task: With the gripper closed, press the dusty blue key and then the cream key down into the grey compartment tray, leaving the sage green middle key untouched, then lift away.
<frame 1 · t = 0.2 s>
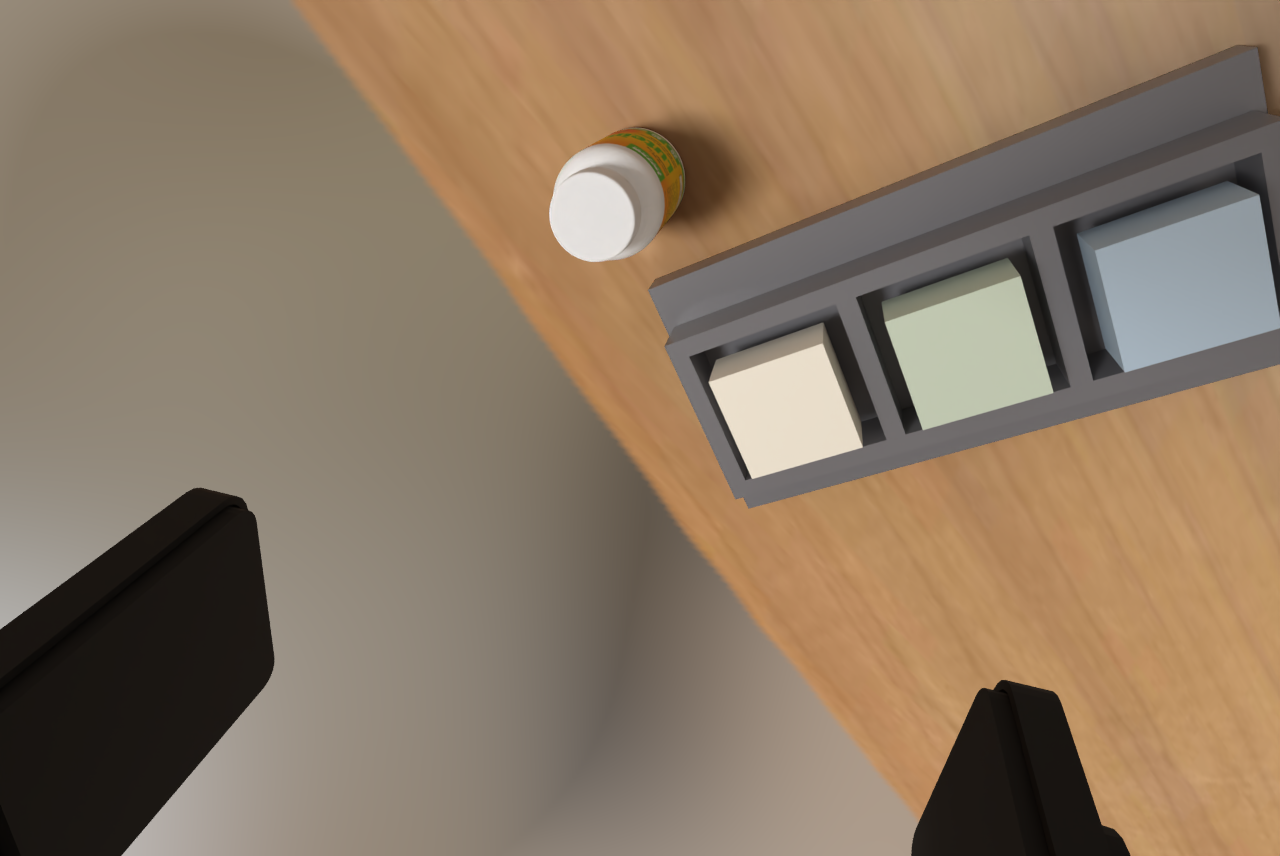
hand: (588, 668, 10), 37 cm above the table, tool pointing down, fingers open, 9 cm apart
supplement bottle: (639, 177, 44), on the table
cream key: (787, 402, 42), point 6 cm above the table, slide at 0.0 cm
grey compartment tray: (950, 308, 43), on the table
sage key: (964, 345, 39), point 6 cm above the table, slide at 0.0 cm
blue key: (1174, 278, 35), point 6 cm above the table, slide at 0.0 cm
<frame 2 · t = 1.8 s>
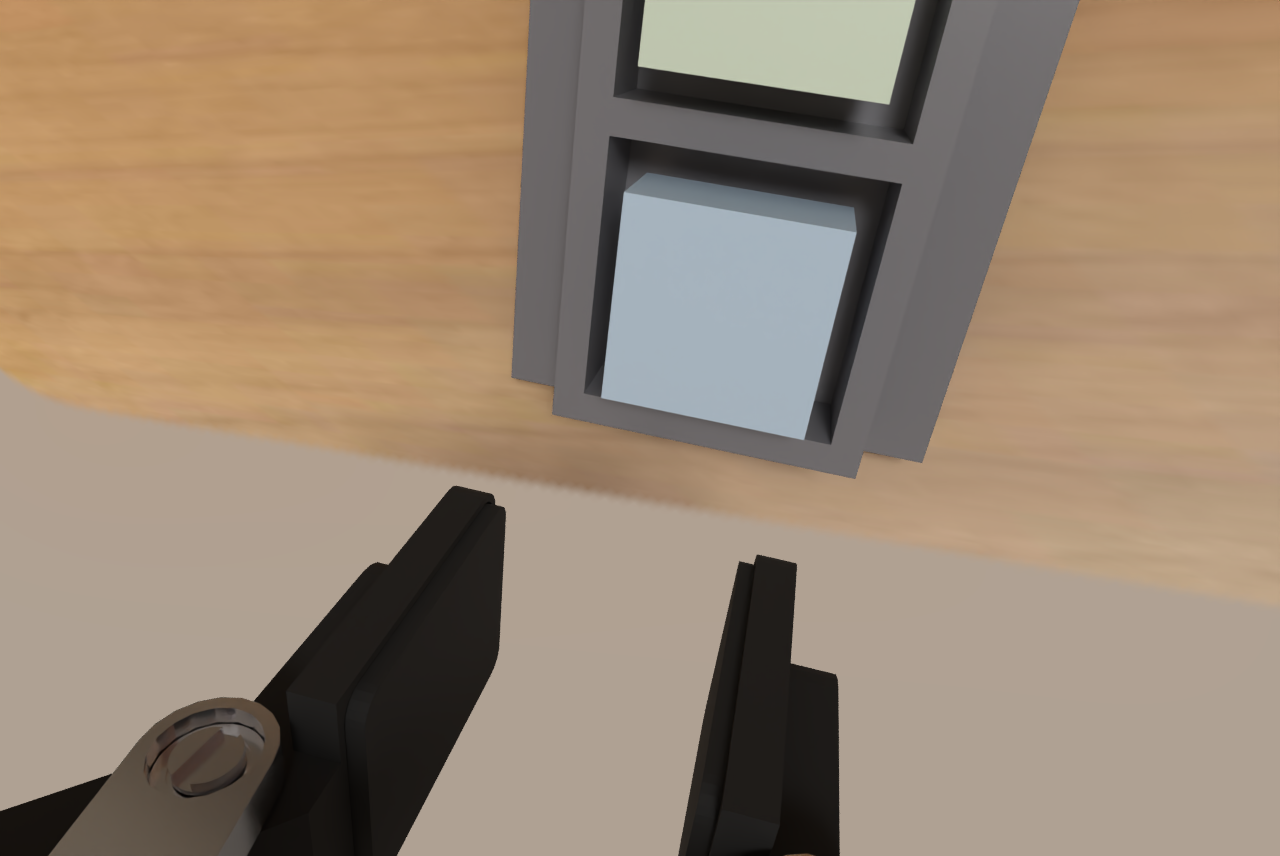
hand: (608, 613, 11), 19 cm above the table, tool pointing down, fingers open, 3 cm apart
blue key: (724, 304, 23), point 5 cm above the table, slide at 0.0 cm
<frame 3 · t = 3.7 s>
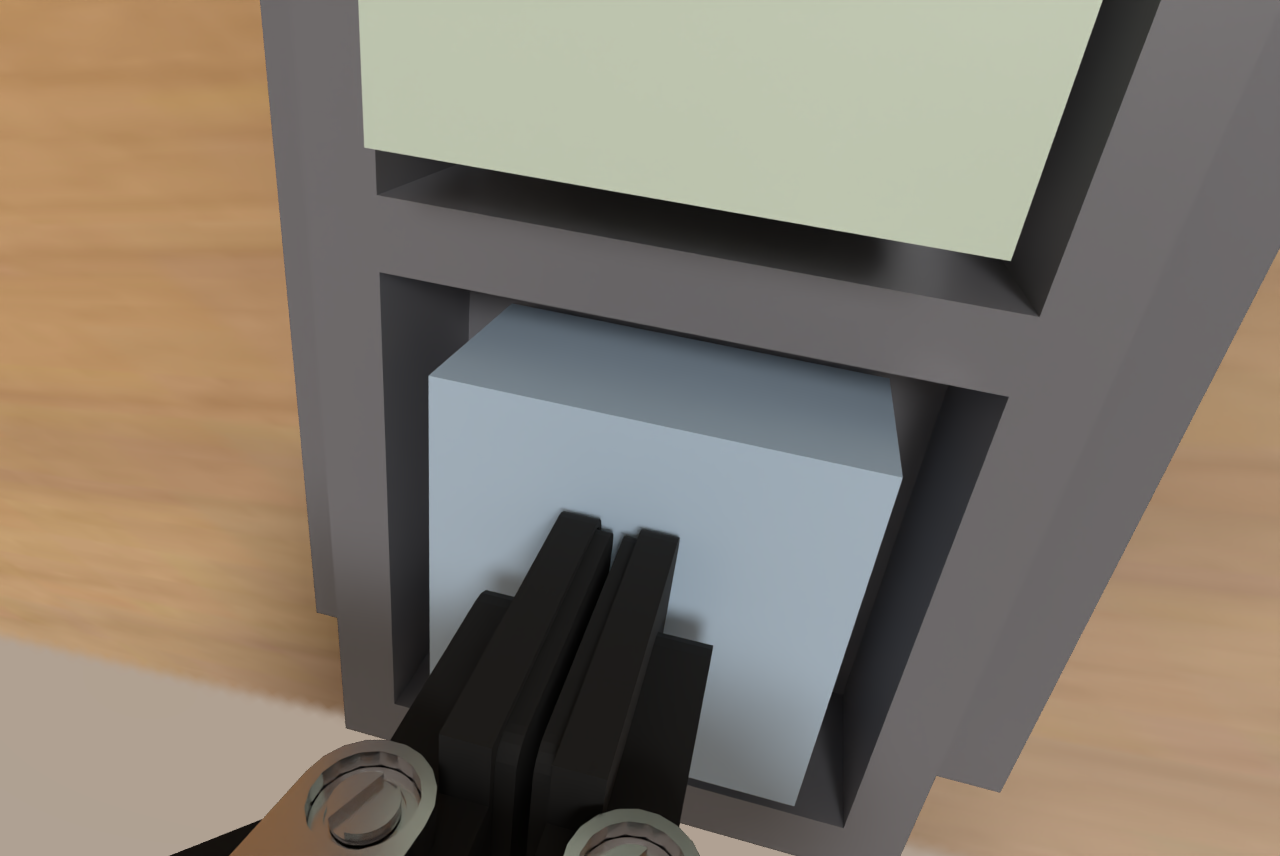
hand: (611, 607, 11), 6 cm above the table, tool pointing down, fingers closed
blue key: (650, 549, 13), point 4 cm above the table, slide at 1.4 cm
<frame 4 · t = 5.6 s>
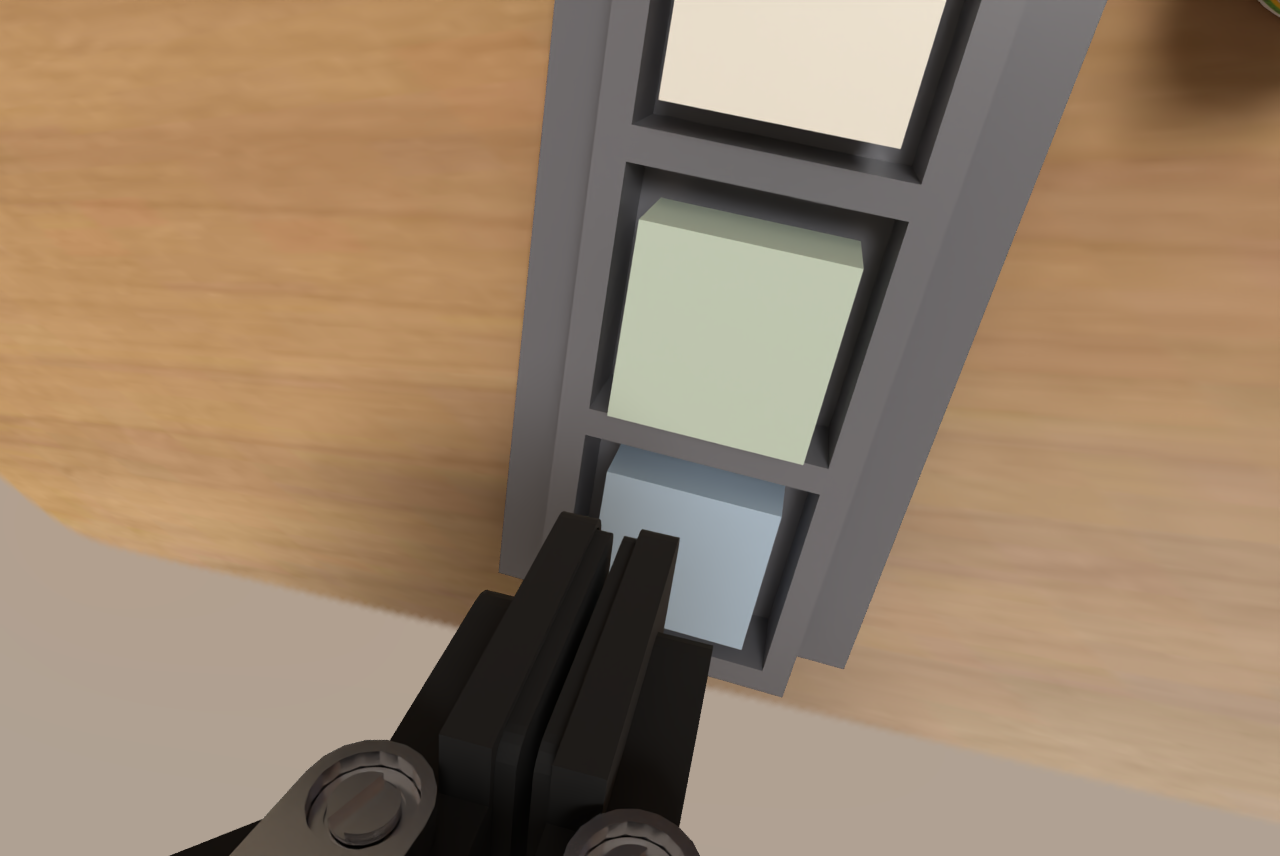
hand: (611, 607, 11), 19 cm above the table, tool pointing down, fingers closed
grey compartment tray: (749, 278, 28), on the table
sage key: (731, 330, 24), point 6 cm above the table, slide at 0.0 cm
blue key: (683, 540, 29), point 4 cm above the table, slide at 1.7 cm
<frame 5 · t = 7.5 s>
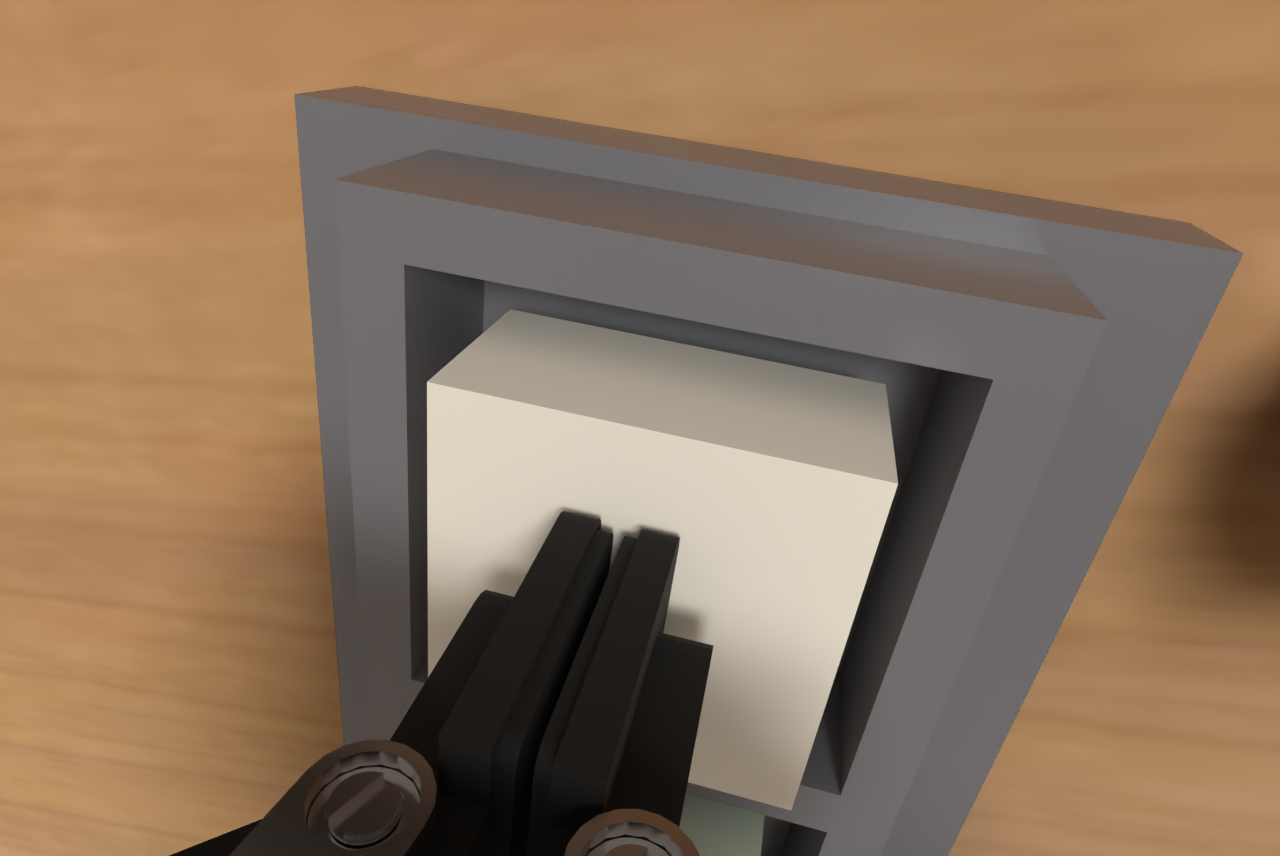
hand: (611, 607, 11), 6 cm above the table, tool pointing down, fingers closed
cream key: (647, 554, 13), point 5 cm above the table, slide at 0.6 cm, touching gripper
grey compartment tray: (642, 719, 21), on the table
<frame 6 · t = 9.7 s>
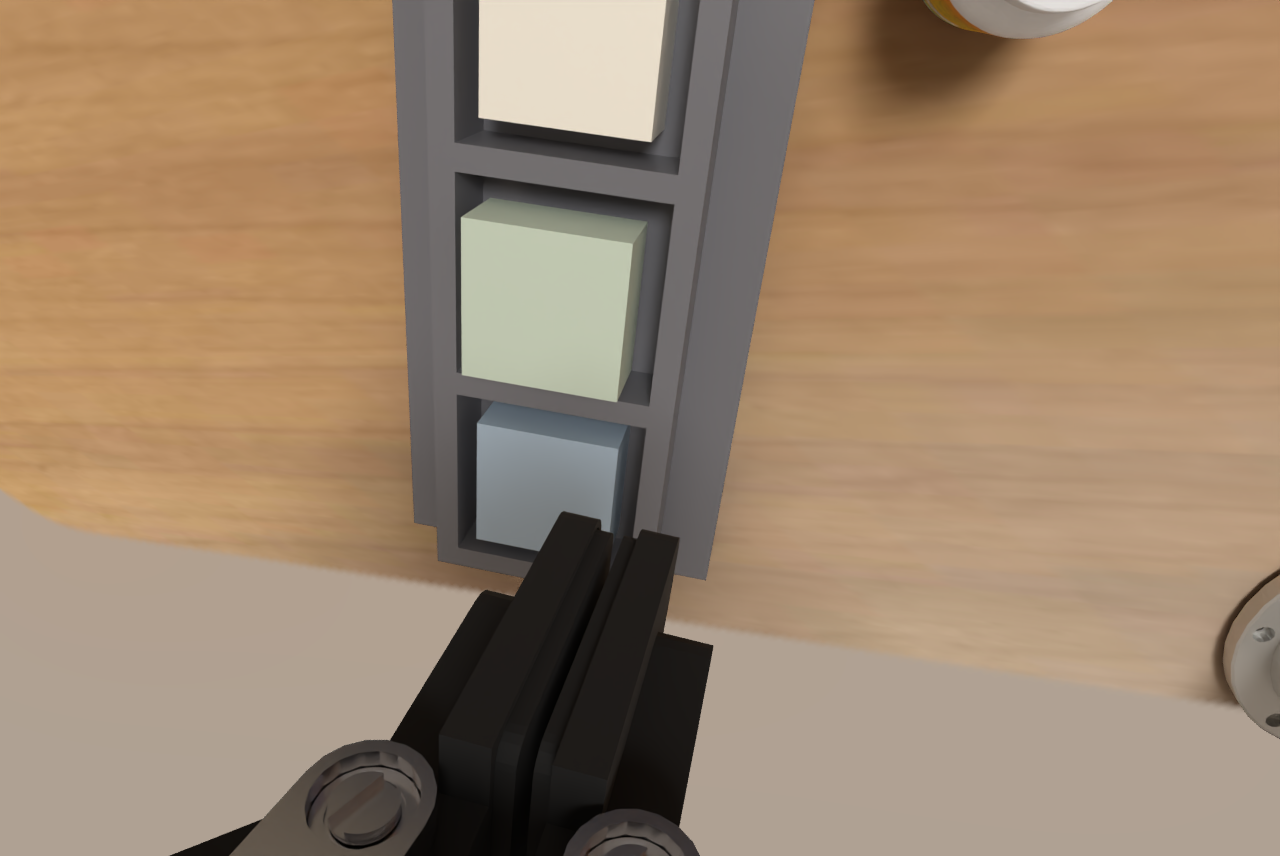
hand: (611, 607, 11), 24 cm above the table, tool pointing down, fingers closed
cream key: (580, 29, 27), point 4 cm above the table, slide at 1.7 cm
grey compartment tray: (587, 257, 35), on the table
sage key: (553, 299, 30), point 5 cm above the table, slide at 0.0 cm
blue key: (553, 477, 36), point 4 cm above the table, slide at 1.7 cm
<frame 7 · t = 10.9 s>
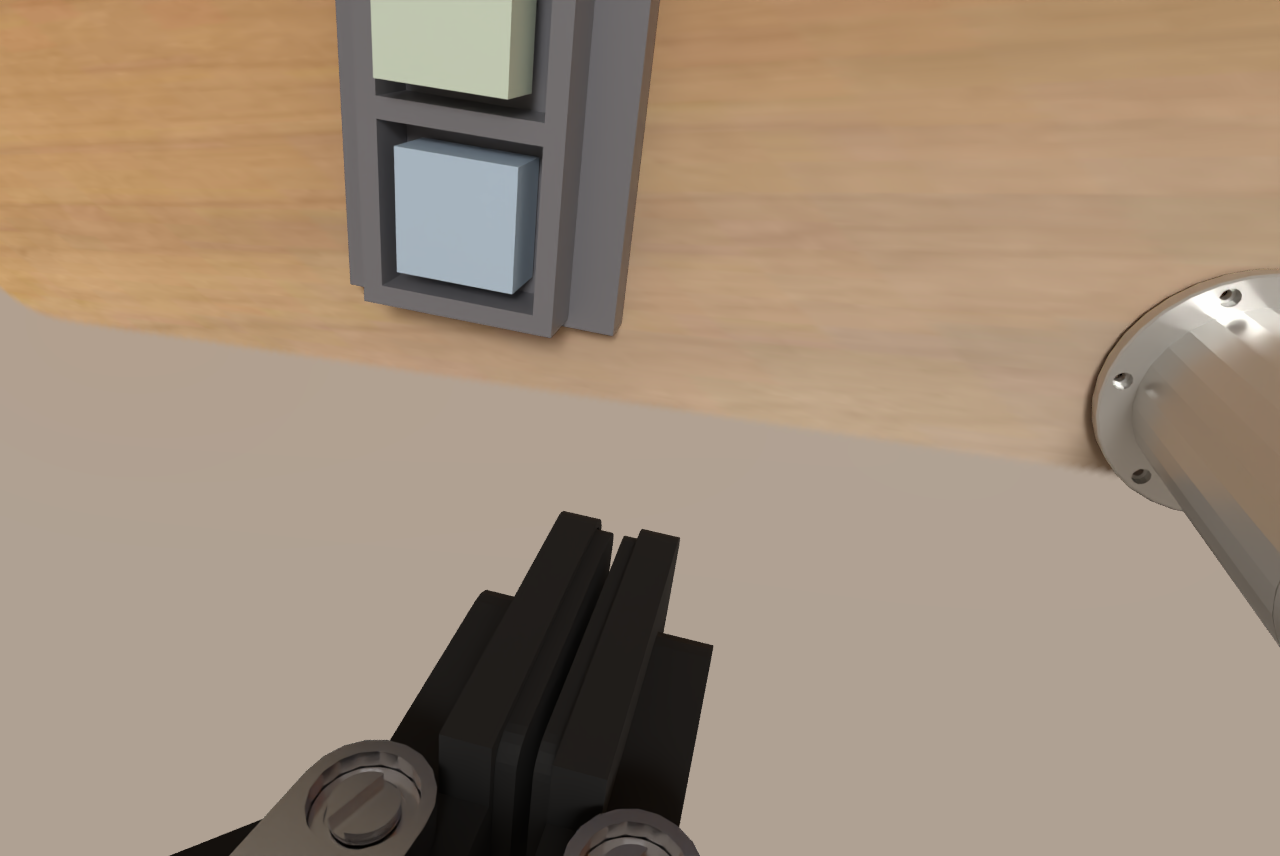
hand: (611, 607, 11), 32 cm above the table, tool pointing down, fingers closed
grey compartment tray: (502, 9, 38), on the table
sage key: (455, 8, 33), point 5 cm above the table, slide at 0.0 cm
blue key: (467, 215, 39), point 4 cm above the table, slide at 1.7 cm
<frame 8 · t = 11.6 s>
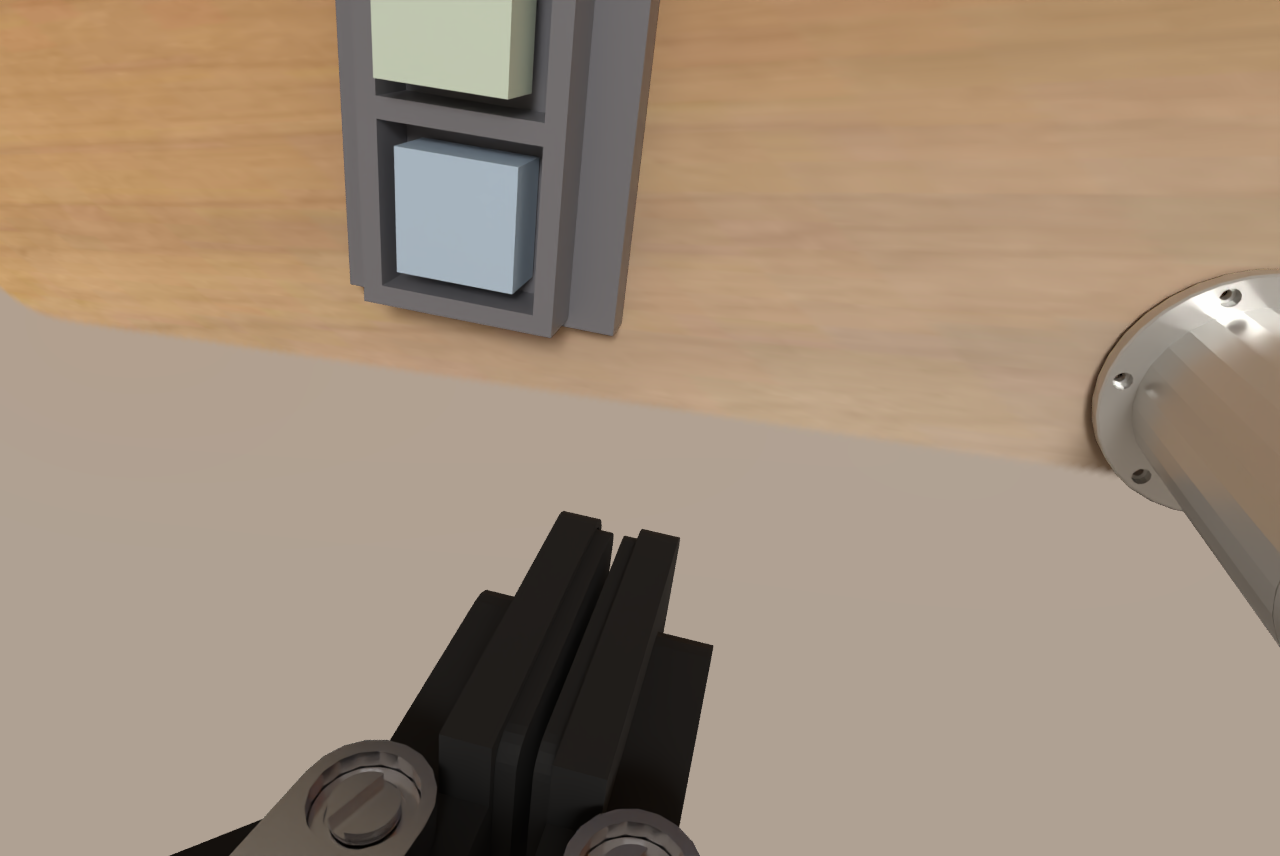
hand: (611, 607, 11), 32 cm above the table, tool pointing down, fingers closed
grey compartment tray: (502, 9, 38), on the table
sage key: (455, 8, 33), point 6 cm above the table, slide at 0.0 cm
blue key: (467, 215, 39), point 4 cm above the table, slide at 1.7 cm
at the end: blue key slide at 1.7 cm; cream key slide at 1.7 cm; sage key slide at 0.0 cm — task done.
